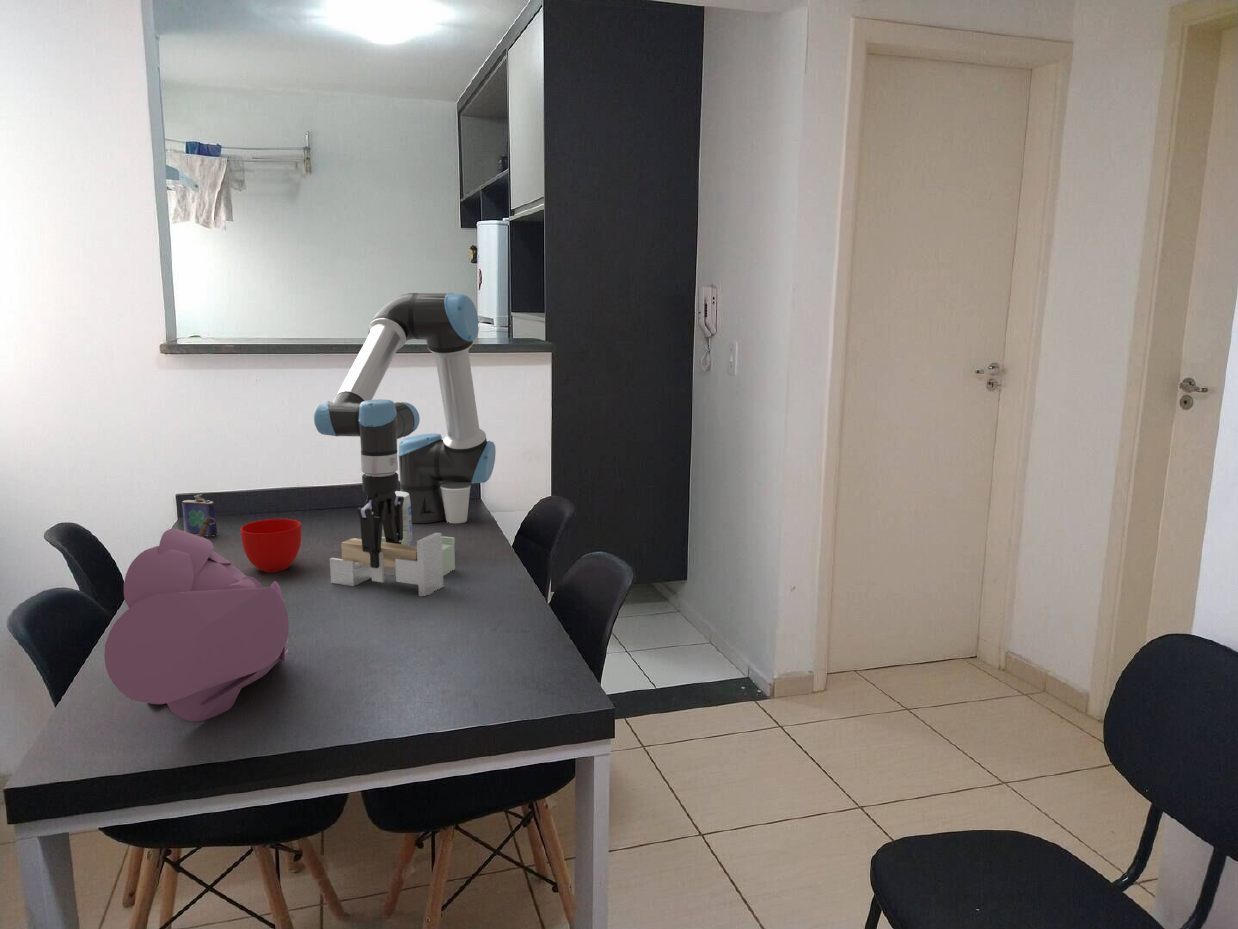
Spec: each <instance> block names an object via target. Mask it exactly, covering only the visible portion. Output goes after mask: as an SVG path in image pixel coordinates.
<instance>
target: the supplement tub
mask: <svg viewBox="0 0 1238 929" xmlns="http://www.w3.org/2000/svg"><path fill="white" fill-rule="evenodd" d="M395 493H396V496H403V497H404V502H403V531H404V532H407V538H406V545H411V546H414V545H413V527H412V526H413V523H412V522H411V503H410V496H409V493H407V492H402V491H400V490H397V491H395ZM374 517H375V516H374ZM379 518H380V517H379ZM382 537H385V534H384V528H383V526H382Z"/></svg>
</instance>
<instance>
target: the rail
mask: <svg viewBox="0 0 1238 929" xmlns="http://www.w3.org/2000/svg"><path fill="white" fill-rule="evenodd" d="M340 545H341V547H340V548H341V559H345V560H352V561H355V562H358V563H365V564H370V553H369V552H363V550H362V538H356V537H355V538H354V537H353V538H349V539H347V540H344V541H342V542H341V543H340ZM375 548H376V547H375ZM380 552H383V559H384V566H386V567H394V568H396V564H395V559H396V558H403V559H410V560H417V545H413V546H411V545H403V544H395V543H387V542H381V551H380ZM417 561H418V560H417Z"/></svg>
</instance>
